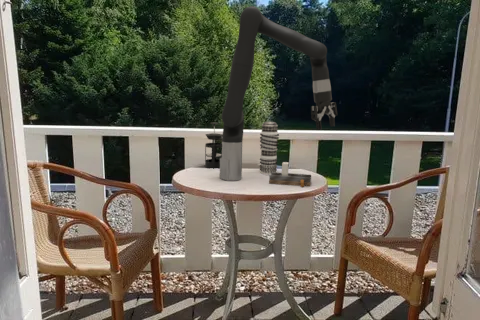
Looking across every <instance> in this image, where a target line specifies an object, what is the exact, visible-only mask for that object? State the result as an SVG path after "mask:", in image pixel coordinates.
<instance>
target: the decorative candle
mask: <svg viewBox="0 0 480 320" xmlns="http://www.w3.org/2000/svg"><path fill="white" fill-rule="evenodd" d="M278 126H279V125H278V124H277V122H275V121H264V122H263V123H262V124H261V132H260V134H259V135H260V136H259V139H260V140H259V142H260V144H259V145H260V147H259V148H260V158H259V160H260V161H259V174H262V175H269V176H270V175H271V172H278V170H277V168H278V166H277V164H278V162H277V161H278V156H277V151H278V148H277V147H278V146H279V145H278V144H279V141H278V139H280V137H279V136H280V134H278Z"/></svg>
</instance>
